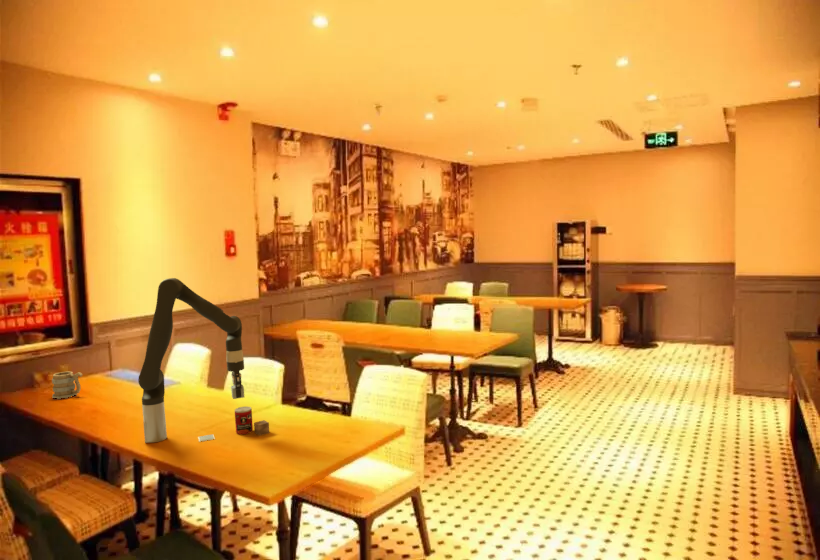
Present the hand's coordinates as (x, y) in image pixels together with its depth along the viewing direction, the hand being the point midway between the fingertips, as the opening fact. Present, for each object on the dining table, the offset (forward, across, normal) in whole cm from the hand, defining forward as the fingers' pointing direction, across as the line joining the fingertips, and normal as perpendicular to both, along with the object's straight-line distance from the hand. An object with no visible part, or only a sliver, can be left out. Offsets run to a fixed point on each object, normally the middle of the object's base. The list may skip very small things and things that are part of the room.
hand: (238, 395), depth 271 cm
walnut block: (+18, +4, +9) cm, 21 cm away
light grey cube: (0, 0, 0) cm, 0 cm away
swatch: (+18, -2, -15) cm, 23 cm away
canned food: (+18, -2, +2) cm, 18 cm away
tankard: (+16, -123, -85) cm, 150 cm away
